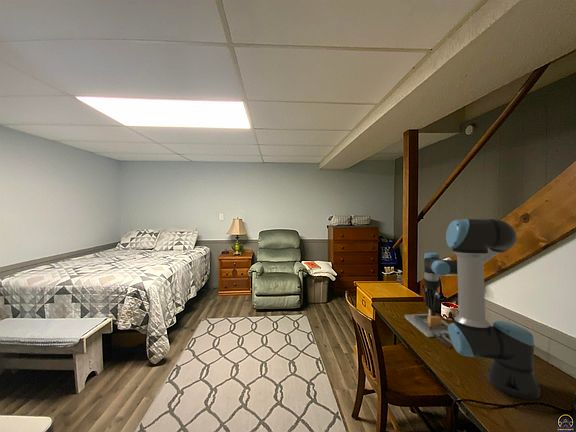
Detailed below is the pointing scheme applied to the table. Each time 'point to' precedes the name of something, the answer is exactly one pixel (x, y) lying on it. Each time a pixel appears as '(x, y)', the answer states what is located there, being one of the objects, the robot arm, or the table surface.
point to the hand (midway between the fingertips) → (431, 319)
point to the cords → (445, 339)
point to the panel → (422, 324)
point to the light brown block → (434, 320)
